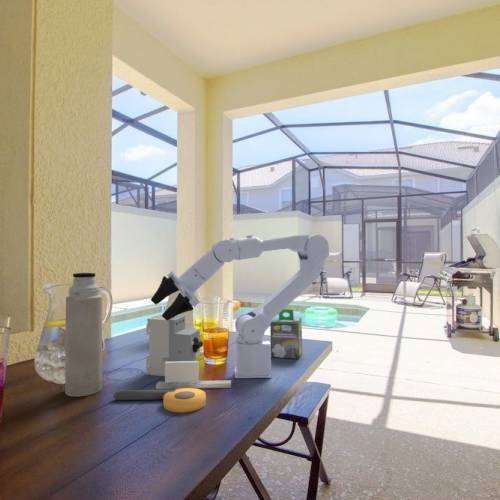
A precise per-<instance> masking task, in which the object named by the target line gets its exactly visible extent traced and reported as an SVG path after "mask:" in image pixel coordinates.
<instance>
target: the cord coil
mask: <svg viewBox="0 0 500 500" xmlns="http://www.w3.org/2000/svg"><path fill="white" fill-rule="evenodd" d="M175 390H176V391H174V392H168V393H166V394H165V395H164V397H163V399H162V400H163V401H162V402H163V408H164V409H165V410H167V411H168V412H171V413H178V414H179V413H191V412H195V411H198V410H200V409H203V407H205V406H206V404H207V401H206V400H207V395H206V392H205V391H204V390H202V389H201V388H182V389H175Z"/></svg>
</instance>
